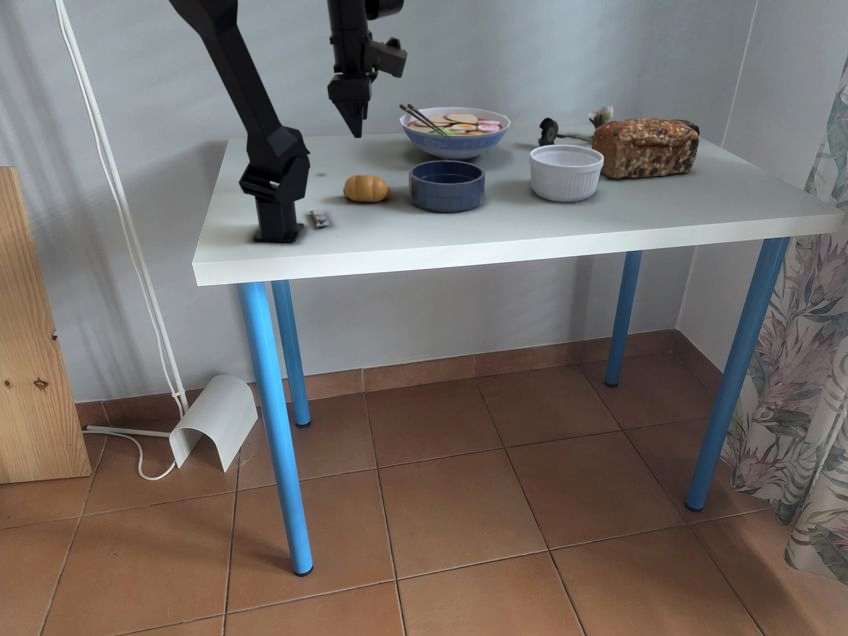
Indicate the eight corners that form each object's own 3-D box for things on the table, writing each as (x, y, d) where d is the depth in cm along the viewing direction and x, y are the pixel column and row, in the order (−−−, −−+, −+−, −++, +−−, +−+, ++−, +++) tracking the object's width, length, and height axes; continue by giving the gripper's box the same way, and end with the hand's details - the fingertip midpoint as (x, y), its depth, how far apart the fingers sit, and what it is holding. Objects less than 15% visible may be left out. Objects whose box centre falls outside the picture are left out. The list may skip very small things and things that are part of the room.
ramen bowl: (529, 168, 135) (533, 127, 131) (421, 180, 128) (421, 136, 123) (481, 136, 155) (483, 99, 150) (385, 144, 147) (384, 105, 143)
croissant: (389, 206, 116) (388, 181, 114) (339, 204, 116) (337, 179, 114) (392, 196, 120) (391, 172, 118) (344, 195, 120) (342, 170, 118)
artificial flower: (529, 149, 151) (531, 102, 148) (610, 151, 161) (613, 106, 158) (551, 149, 143) (554, 99, 141) (635, 150, 153) (638, 104, 150)
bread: (611, 182, 130) (619, 129, 124) (587, 165, 138) (593, 115, 133) (695, 174, 135) (705, 123, 129) (666, 159, 143) (675, 110, 138)
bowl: (483, 214, 114) (484, 186, 111) (405, 211, 114) (404, 183, 111) (484, 188, 125) (485, 161, 122) (413, 185, 125) (413, 159, 122)
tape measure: (670, 143, 153) (674, 126, 151) (657, 135, 159) (660, 119, 157) (698, 142, 155) (701, 125, 153) (683, 134, 160) (687, 118, 158)
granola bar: (309, 214, 112) (308, 208, 111) (323, 212, 113) (322, 206, 112) (316, 229, 107) (316, 222, 106) (331, 227, 107) (330, 221, 107)
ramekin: (542, 207, 117) (545, 168, 113) (516, 183, 128) (519, 146, 124) (611, 202, 120) (616, 163, 117) (580, 178, 131) (584, 142, 127)
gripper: (398, 38, 95) (406, 146, 105) (404, 12, 110) (411, 109, 120) (319, 40, 95) (335, 149, 104) (336, 15, 110) (349, 111, 119)
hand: (361, 128), depth 112 cm, fingers open, 9 cm apart
